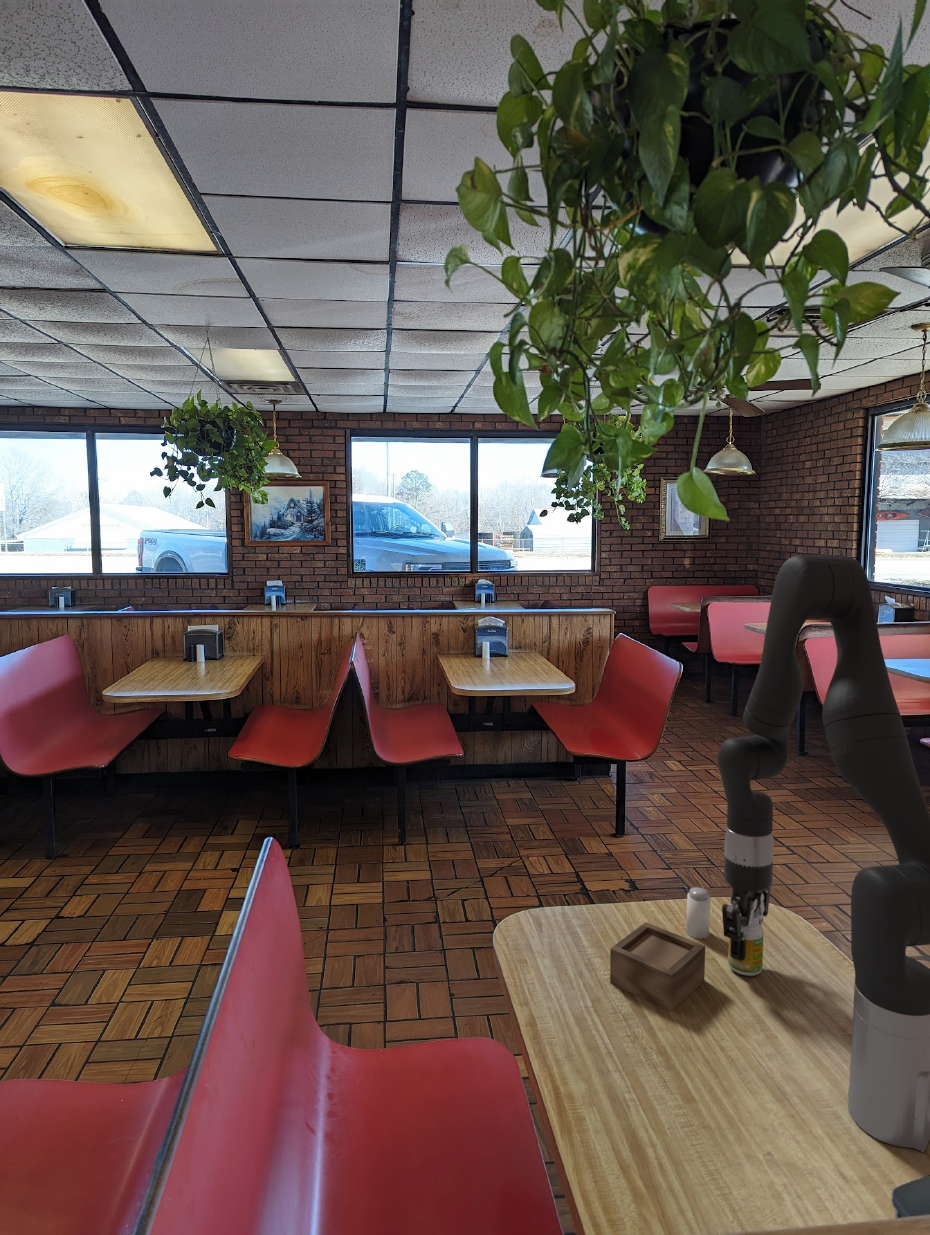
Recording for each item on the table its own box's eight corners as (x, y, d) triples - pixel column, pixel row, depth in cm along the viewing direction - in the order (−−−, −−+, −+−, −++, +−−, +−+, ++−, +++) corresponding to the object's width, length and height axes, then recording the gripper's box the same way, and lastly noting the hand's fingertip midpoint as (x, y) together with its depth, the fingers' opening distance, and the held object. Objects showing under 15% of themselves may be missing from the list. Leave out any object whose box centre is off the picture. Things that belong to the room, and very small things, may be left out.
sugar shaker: (713, 932, 139) (714, 891, 138) (702, 941, 136) (704, 899, 135) (692, 924, 142) (693, 884, 141) (682, 933, 139) (683, 892, 138)
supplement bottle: (756, 980, 124) (758, 924, 123) (723, 969, 127) (725, 914, 126) (766, 965, 128) (768, 910, 127) (734, 954, 132) (735, 901, 130)
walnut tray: (704, 979, 125) (705, 945, 124) (671, 1011, 117) (671, 975, 116) (645, 954, 133) (645, 922, 132) (610, 982, 125) (610, 948, 124)
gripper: (752, 876, 118) (749, 979, 120) (788, 847, 128) (784, 941, 130) (706, 862, 123) (704, 960, 125) (744, 835, 133) (742, 926, 135)
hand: (745, 950), depth 127 cm, fingers closed on supplement bottle, 5 cm apart
